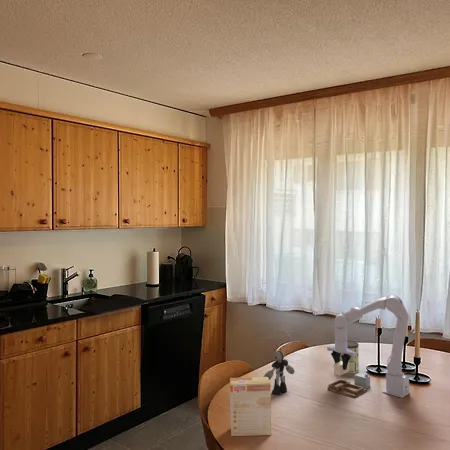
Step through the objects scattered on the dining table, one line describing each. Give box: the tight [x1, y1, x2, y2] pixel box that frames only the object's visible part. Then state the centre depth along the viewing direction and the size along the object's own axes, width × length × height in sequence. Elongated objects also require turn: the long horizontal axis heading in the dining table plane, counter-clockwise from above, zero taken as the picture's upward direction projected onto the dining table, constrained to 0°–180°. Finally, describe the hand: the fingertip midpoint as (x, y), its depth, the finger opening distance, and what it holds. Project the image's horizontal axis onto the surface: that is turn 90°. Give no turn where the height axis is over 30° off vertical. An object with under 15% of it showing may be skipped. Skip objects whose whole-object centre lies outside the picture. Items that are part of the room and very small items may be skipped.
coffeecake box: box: [229, 376, 272, 437], centre depth 168 cm, size 15×7×20 cm, turn 92°
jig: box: [327, 378, 368, 399], centre depth 207 cm, size 14×11×2 cm
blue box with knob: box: [354, 372, 371, 389], centre depth 213 cm, size 6×4×6 cm, turn 43°
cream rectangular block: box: [333, 361, 349, 376], centre depth 213 cm, size 3×8×5 cm, turn 132°
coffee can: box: [340, 340, 360, 374], centre depth 235 cm, size 10×10×14 cm
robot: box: [263, 347, 295, 396], centre depth 206 cm, size 20×5×20 cm, turn 128°
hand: (341, 368), depth 213 cm, fingers closed on cream rectangular block, 3 cm apart
